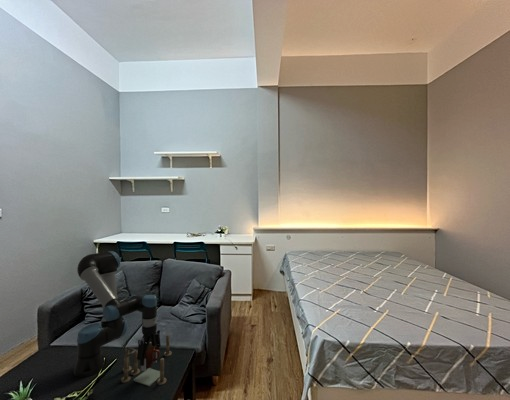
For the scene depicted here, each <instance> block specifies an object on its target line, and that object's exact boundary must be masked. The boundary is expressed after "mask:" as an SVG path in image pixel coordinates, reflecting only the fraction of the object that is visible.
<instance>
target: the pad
mask: <svg viewBox="0 0 510 400" xmlns="http://www.w3.org/2000/svg"><path fill="white" fill-rule="evenodd" d="M158 379H160V370H157V369H153V368H152V367H151V368H148V369H146V371H145V372H144V371H142V372H141V373H139V374H138V375H137V376H136V377H135V378H133V381H134V382H135V383H138V384H141V385H144V386H147V387H151V386H152V385H154V383H155V382H157V381H158Z"/></svg>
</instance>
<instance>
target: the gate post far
mask: <svg viewBox="0 0 510 400" xmlns="http://www.w3.org/2000/svg"><path fill="white" fill-rule="evenodd" d="M170 336H171V335H170V334H169V333H168V334H166V335H165V338H166V339H165V340H166V342H165V352H164V353H163V356H164V357H170V356H172V354H173V352H172V351H171V350H170V342H171V341H170Z"/></svg>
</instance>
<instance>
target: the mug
mask: <svg viewBox="0 0 510 400" xmlns="http://www.w3.org/2000/svg"><path fill="white" fill-rule="evenodd" d="M155 347H156V346H152V343H151V342H150V343H149V345H148V348H147V351H146V355H145V358H146V370H147V369H148V368H151V369H152V367H153V366H154V364H155V363H154V361H157V362H158V360H160V359H159V358H160V357H161V351H160V349H159V350H158V349H155ZM154 352H157V353H158V355H157V358H154ZM142 357H143V356H142ZM139 367H140V368H141V365H140V364H139Z"/></svg>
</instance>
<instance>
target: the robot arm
mask: <svg viewBox="0 0 510 400" xmlns="http://www.w3.org/2000/svg"><path fill="white" fill-rule="evenodd" d="M120 266H121V258H120V256H119V254H118V253H117V252H115V251H113V250H109V251H102V252H95V253H90V254H87V255H85V256H84V257H82V258H81V259H80V260H79V262H78V265H77V267H76V268H77V275H78V277H79V278H80V279H81V281H85V283H86V284H87V285H88V288H89V289H90V290H91V292H92V293H93V294H94V295H95V297H96V298H97V300H98V301H99V303H100V304H101V306H102V307H101V308H102V316H103V317H102V318H101V320H100V323H101V324H100V323H97V322H95V323H93V324H88V325H86V326H84V327H82V328H81V329H80V330H79V332H78V333H77V340H76V342H77V343H76V344H77V348H76V349H77V351H76V352H77V358H76V361H75V365H74V367H73V375H74V376H75V377H78V378H85V377H89V376H92V375H96V374H97V373H99V372H101V370H103V369H104V367H105V359H104V355H103V353H102V347H103V346H105V345H107V344H109V343H112V342H113V341H115V340H119V339H120V338H122V337H124V336H125V335H126V333H127V330H128V321H127V318H126V317H125V316H127V315H130V314H132V313H134V312H140V313H141V333H142V337H141V339H138V341H137V344H138V345H137V351H138V353H137V359H138V360H139V366H140V365H141V367H140V372H145V371H146V370H147V369H146V358H145V355H146V351H147V348H148V345H149V343H152V346H156V347H155V349H158V350H159V351H160V348H161V346H162V345H161V338H160V337H161V336H160V334H161V333H160V332H161V330H160V329H158V325H157V321H158V319H157V313H158V301H157V300H158V299H157V296H156V294H147V295H144V296H142V295H138V294H131V296H128V298H127V299H124V300H122V301H120V300H119V297H118V290H117V281H116V274H117V272H118V268H120ZM142 356H143V357H142ZM157 357H158V353H157V352H154V358H157ZM156 363H158V360H157V361H154V364H156Z"/></svg>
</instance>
